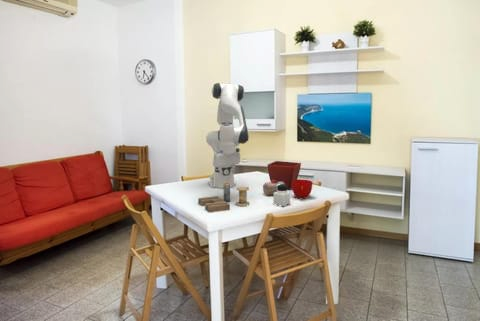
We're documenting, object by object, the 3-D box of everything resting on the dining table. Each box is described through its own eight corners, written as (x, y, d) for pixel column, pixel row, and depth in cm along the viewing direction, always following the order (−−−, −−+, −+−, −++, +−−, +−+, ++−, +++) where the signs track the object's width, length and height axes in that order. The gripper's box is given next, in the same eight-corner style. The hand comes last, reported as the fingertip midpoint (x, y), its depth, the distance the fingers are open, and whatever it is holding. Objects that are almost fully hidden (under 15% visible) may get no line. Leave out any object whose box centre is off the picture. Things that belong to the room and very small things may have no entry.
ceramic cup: (290, 201, 222) (291, 184, 221) (291, 194, 239) (291, 179, 237) (312, 202, 220) (313, 185, 219) (311, 195, 237) (312, 179, 235)
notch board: (198, 203, 217) (198, 198, 217) (217, 200, 222) (217, 196, 222) (209, 212, 199) (209, 206, 199) (229, 209, 204) (229, 204, 204)
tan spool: (233, 203, 217) (233, 186, 215) (246, 202, 220) (246, 185, 218) (239, 206, 209) (239, 189, 208) (251, 205, 213) (251, 188, 211)
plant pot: (300, 185, 263) (301, 162, 261) (293, 191, 246) (293, 166, 244) (275, 183, 271) (276, 160, 269) (266, 188, 254) (266, 164, 252)
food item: (265, 196, 232) (265, 181, 231) (262, 193, 240) (262, 179, 239) (286, 195, 235) (286, 180, 233) (282, 192, 243) (282, 178, 241)
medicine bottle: (290, 204, 215) (290, 184, 213) (283, 206, 210) (283, 186, 208) (280, 202, 220) (280, 182, 218) (273, 204, 215) (273, 184, 213)
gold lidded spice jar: (222, 200, 222) (222, 183, 221) (228, 200, 224) (228, 182, 222) (224, 202, 219) (224, 184, 217) (231, 201, 220) (231, 184, 219)
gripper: (218, 151, 207) (218, 176, 209) (242, 148, 222) (241, 171, 224) (210, 151, 211) (210, 174, 213) (234, 148, 226) (234, 170, 228)
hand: (226, 172), depth 219 cm, fingers open, 8 cm apart
